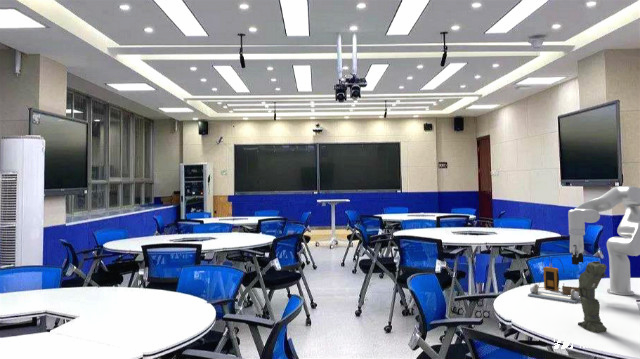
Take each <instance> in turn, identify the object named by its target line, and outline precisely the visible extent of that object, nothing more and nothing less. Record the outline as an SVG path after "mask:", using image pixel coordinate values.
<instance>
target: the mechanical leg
mask: <svg viewBox="0 0 640 359" xmlns="http://www.w3.org/2000/svg"><path fill="white" fill-rule="evenodd" d="M607 268H608V267H607V265H606V263H605V264H604V263H601V261H600V260H598V261H591V262H588V263H587V265H586V266H585V270H584V271H583V272H582V273H580V275H579V277H578V287H577V288H578V291H579V295H580V299H581V300H580V304H581V308H582V313H583V321H580V322H578V323H577V326H579V327H581V328H583V329H586V330H587V331H590V332H593V333H594V332H596V333H607V329H608V328H607V327H606V326H605V325H604V323H603V322H602V321H601V320H602V319H601V318H600V317H601V316H600V310H601V308H600V307H601V306H600V305H601V304H600V301H599V300H598V299H597V298H596V296H595V295H596V290H597V289H598V286H599V284H600V282H601V280H602V279H603V278H606V277H607V274H606V270H607ZM594 289H595V291H594ZM594 296H595V297H594Z"/></svg>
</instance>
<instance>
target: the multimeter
mask: <svg viewBox="0 0 640 359" xmlns="http://www.w3.org/2000/svg"><path fill="white" fill-rule="evenodd" d="M545 257H546V256H544V257H543V258H542V261H541V262H542V263H541V264H542V266H543V267H542V269H543V274H542V276H541V278H540V280H539V282H538V289H540V288H544V290H549V291H554V292H557V291H559V290H560V289H561V287H560V276H559V275H560V274H559V268H557V267H553V259H554V258H557V259H558V260H559V261H560V263H561V266H562V270H563V272H565V269H564V265H563V262H562V261H561V259H560V258H559V257H558V256H553V257H552V258H551V257H549V256H548V255H547V258H549V259H548V260H550V264H549V266H544V259H545ZM550 258H551V259H550ZM542 279H543V286H541V287H540V284H541V281H542ZM562 286H565V284H563V285H562Z"/></svg>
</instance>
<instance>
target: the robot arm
mask: <svg viewBox="0 0 640 359" xmlns="http://www.w3.org/2000/svg"><path fill="white" fill-rule="evenodd" d="M621 203H622V205H623V207H624V215H623V216H622V219H621V220H620V223H619V225H618V227H617V230H616V231H617V234H618V235H619V236H612V237H609V238H608V239H607V241H606V249H607V253H608V262H609V264H608V265H609V288H607V289H606V292H607V293H609V294H612V295H618V296H634V295H635V292H634V291H633V290H631V261H630V259H629V256H631V257H634V256H635V257H638V256H640V208H639V207H640V187H638V186H635V185H623V186H622V185H620V186H619V185H618V186H614V187H613V188H611V189H609V190H608V191H606V193H604V194H602V195H601V196H599V197H597V198H594V199H590V200H589V201H585V202H582V203H581V204H579V205H578V206H576V207H575V208H574V209H569V210H568V212H567V213H568V214H567V215H568V235H569V253H571V264H572V265H577V266H579V265H580V263H584V249H585V246H584V236H585V235H586V231H585V230H586V225H585V223H589V224H590V223H591V224H592V223H597V222H598V221H599V220H600V218H601V213H600V212H607V211H610V210H612V209H613V208H615V207H616V206H618V205H619V204H621Z"/></svg>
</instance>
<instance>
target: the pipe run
mask: <svg viewBox="0 0 640 359" xmlns="http://www.w3.org/2000/svg"><path fill="white" fill-rule="evenodd" d="M538 286H539V284H537V283H534V285H532V284H531V285H530V286H529V287H530V293H528V294H527V297H531V298H537V299H543V300H551V301H557V302H563V303H568V302H569V304H574V303H575V304H576V302H577V303H578V302H579V301H581V300H580V297H579V292H576V291H575V290H574V289H572V290H571V296H568V295H563V293H562V294H560V293H553V292H546V291H540V290H539V288H538Z"/></svg>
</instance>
